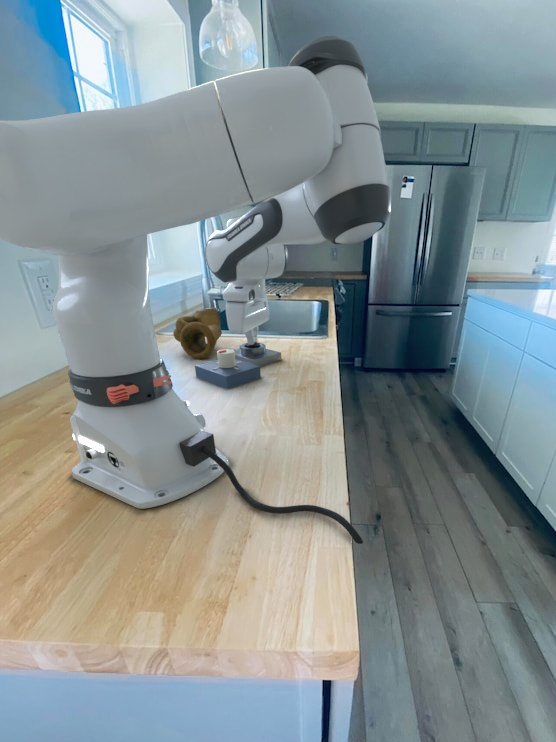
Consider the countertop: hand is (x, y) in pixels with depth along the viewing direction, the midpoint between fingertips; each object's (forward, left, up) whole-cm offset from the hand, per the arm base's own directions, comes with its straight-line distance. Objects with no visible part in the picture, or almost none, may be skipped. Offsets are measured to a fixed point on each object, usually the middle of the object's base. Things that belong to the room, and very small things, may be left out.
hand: (252, 343), depth 100 cm
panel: (-7, +14, -4) cm, 16 cm away
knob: (-7, +14, -1) cm, 16 cm away
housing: (0, 0, -4) cm, 5 cm away
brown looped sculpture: (+21, +3, -5) cm, 22 cm away
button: (0, 0, -2) cm, 2 cm away
